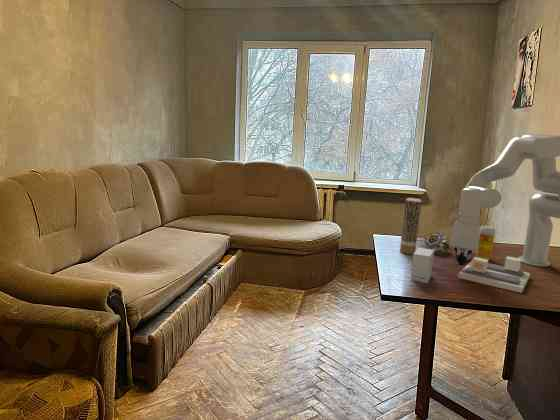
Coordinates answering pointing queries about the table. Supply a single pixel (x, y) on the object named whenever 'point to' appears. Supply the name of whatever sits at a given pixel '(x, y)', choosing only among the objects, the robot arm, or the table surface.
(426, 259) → the skincare box
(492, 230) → the beer can
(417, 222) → the paper tube
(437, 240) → the passion flower
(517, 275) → the panel
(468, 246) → the robot arm
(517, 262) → the block
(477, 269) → the block
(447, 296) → the table surface
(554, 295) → the table surface
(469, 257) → the soda can
